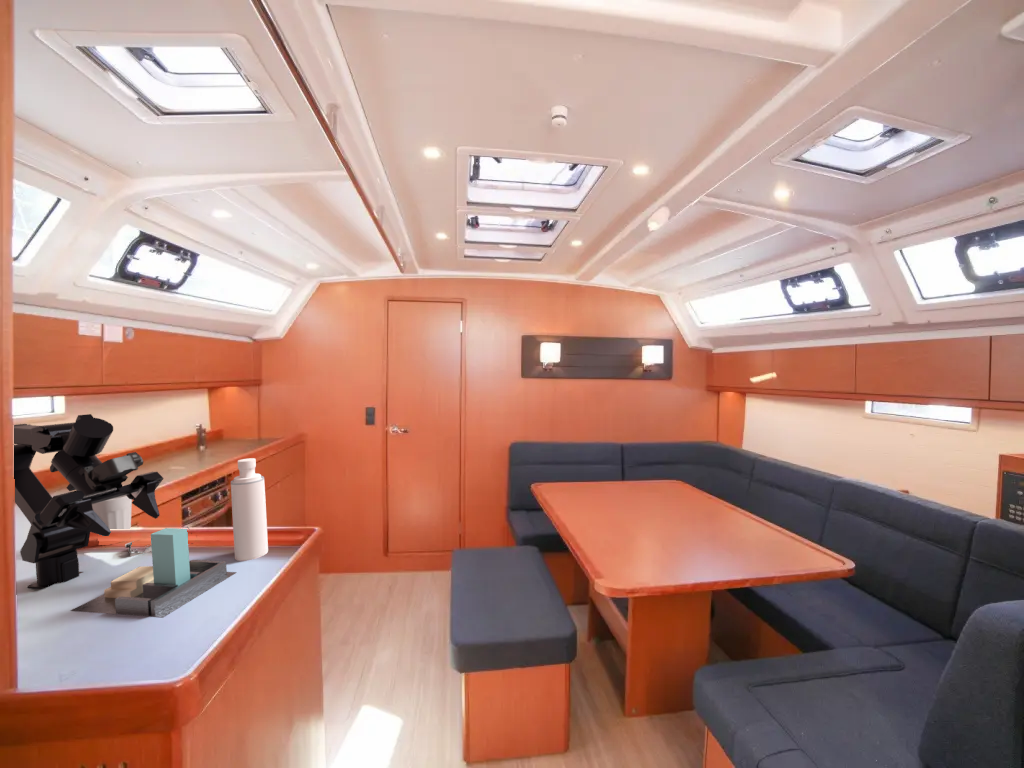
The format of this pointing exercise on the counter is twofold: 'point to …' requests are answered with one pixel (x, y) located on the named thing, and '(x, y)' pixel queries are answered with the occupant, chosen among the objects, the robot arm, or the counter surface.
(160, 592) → the tray
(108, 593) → the lower offcut
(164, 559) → the teal block
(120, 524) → the cup
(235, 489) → the white bottle
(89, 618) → the counter surface
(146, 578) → the upper offcut
